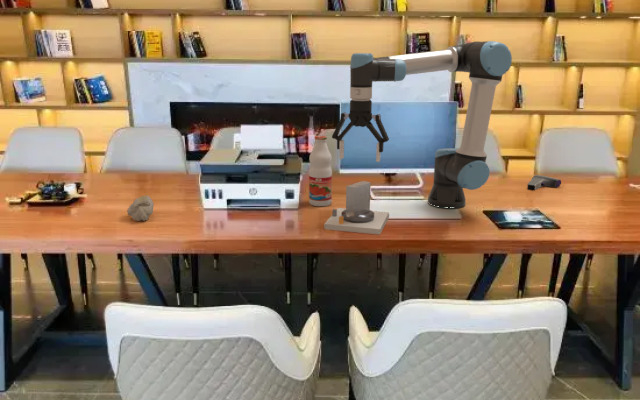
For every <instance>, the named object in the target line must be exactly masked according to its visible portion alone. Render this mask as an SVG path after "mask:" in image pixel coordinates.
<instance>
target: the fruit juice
mask: <svg viewBox="0 0 640 400" xmlns="http://www.w3.org/2000/svg"><path fill="white" fill-rule="evenodd" d="M327 141H328V136H326V135H323V134H322V135H320V134H319V135H314V145H313V147H312V150H311V151H310V152H311V153H310V154H309V160H308V161H309V164H310V165H309V170H308V203H309V204H310V205H311V206H314V207H328V206H331V204H333V203H332V202H333V168H332V166H331V165H332V161H333V157H332V156H333V155H332V154H331V152H330V150H329V147H328V143H327Z"/></svg>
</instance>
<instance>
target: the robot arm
mask: <svg viewBox="0 0 640 400" xmlns="http://www.w3.org/2000/svg"><path fill="white" fill-rule="evenodd" d="M512 62H513V57H512V52H511V50H510V49H509V47H508V46H507V44H505V43H502V42H500V41H494V40H490V41H489V40H488V41H487V40H486V41H471V42H466V43H463V44H459V45H452V46H448V47H447V48H446V49H441V50H431V51H422V52H415V53H406V54H398V55H397V54H396V55H389V56H381V57H380V56H378V57H374V54H373V53H372V52H371V53H369V52H368V53H367V52H365V53H362V52H361V53H359V52H357V53H353V54H351V56H350V65H349V67H350V72H349V73H350V76H349V77H350V82H349V83H350V85H349V86H350V87H349V89H350V91H349V97H350V100H349V113H347V112H345V111H344V112H342V113H340V119H339V121H338V123H337V125H336V127H335V129H334V131H333V134H332V136H331V139H334V140H336V149H337V150H338V151H339V153H338V156H339V160H342V159H344V157H345V153H344V152H345V140H344V139H343V138H344V137H345V136H346V135H347V133H348V132H349V131H350V130H351V129H352V128H353V126H354V127H357V128H359V127H361V128H365V127H366V128H367V129H368V130H369V132H370V133H371V134H372V135H373V137H374V138H375V139H376V141H377V143H376V149H375V152H376V153H375V154H376V155H375V156H376V157H375V163H379V162H380V161H381V153H383V152H384V144H385V143H387V142H389V140H390V137H389V136H388V134H387V131H386V129H385V126H384V124H383V122H382V118H381V116H382V115H381V114H380V113H378V114H373V113H372V107H373V106H372V105H373V102H372V100H371V99H372V98H373V82H375V83H376V82H394V83H396V82H400V81H403V80H405V78H406V76H410V75H418V74H425V73H434V72H442V71H448V72H450V73H456V72H460V73H461V72H462V73H469V74H468V79H469V80H470V82H471V88H470V93H469V99H468V103H467V108H466V109H467V110H466V116H465V119H464V120H465V121H464V126H463V132H462V135H461V136H462V138H461V143H460V147H459V148H458V147H457V148H455V147H454V148H449V147H448V148H447V147H446V148H439V149H437V150H436V151H435V154H434V168H433V182H432V183H433V184H432V187H431V189H430V192H429V194H428V197H427V203H428V202H429V203H430V204H432V205H435V206H439V207H448V208H450V207H455V208H454V209H460V208H464V207H465V206H466V195H465V192H464V189H467V190H471V191H472V190H477V189H480V188H481V187H482V186H484V185H485V184H486V183H487V182H488V180H489V178H490V175H491V172H490V170H491V169H490V167H489V166H488V164H487V162H486V161H487V156H488V154H487V153H486V151H485V146H486V140H487V135H488V129H489V124H490V119H491V115H492V108H493V104H494V99H495V93H496V88H497V86H498V85H499V84H501V83H502V80H503V76H504V75H505V74H507V72H508V71H509V70H510V68H511V66H512ZM348 119H349V121H350V122H349V123H348V124H347V126H346V127H345V128H344V129H343V130H342V128H343V127H344V126H343V125H345V124H344V123H345V122H346V120H348ZM372 119H373V120H374V122H375V123H376V126H377V128H378V130H379V131H378V130H377V129H376V128H375V126H374V125H373V123H372V122H371V121H372ZM341 130H342V132H341ZM429 203H428V204H429ZM430 204H429V205H430ZM432 205H431V206H432ZM435 206H434V207H435ZM439 207H438V208H439ZM448 208H447V209H448Z"/></svg>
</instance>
